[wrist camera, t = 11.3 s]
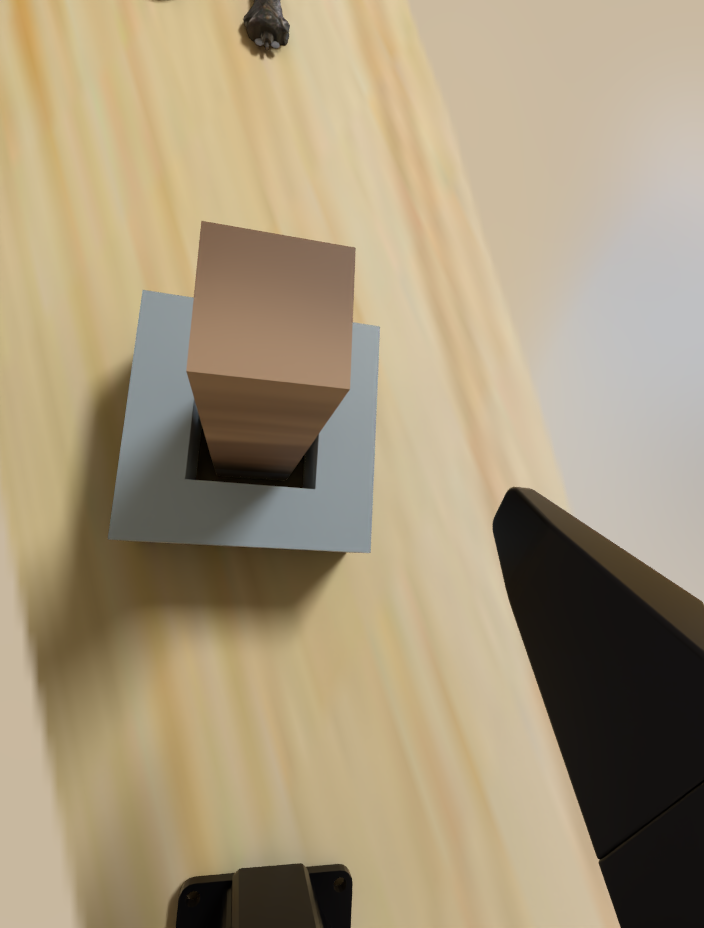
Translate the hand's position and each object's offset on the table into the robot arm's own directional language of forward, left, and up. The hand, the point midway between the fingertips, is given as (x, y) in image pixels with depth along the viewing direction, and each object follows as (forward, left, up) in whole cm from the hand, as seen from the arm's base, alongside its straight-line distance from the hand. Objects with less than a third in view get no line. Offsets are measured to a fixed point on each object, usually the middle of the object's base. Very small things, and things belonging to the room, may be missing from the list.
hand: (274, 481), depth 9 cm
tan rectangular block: (+3, 0, -13) cm, 13 cm away
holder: (+3, 0, -13) cm, 13 cm away
